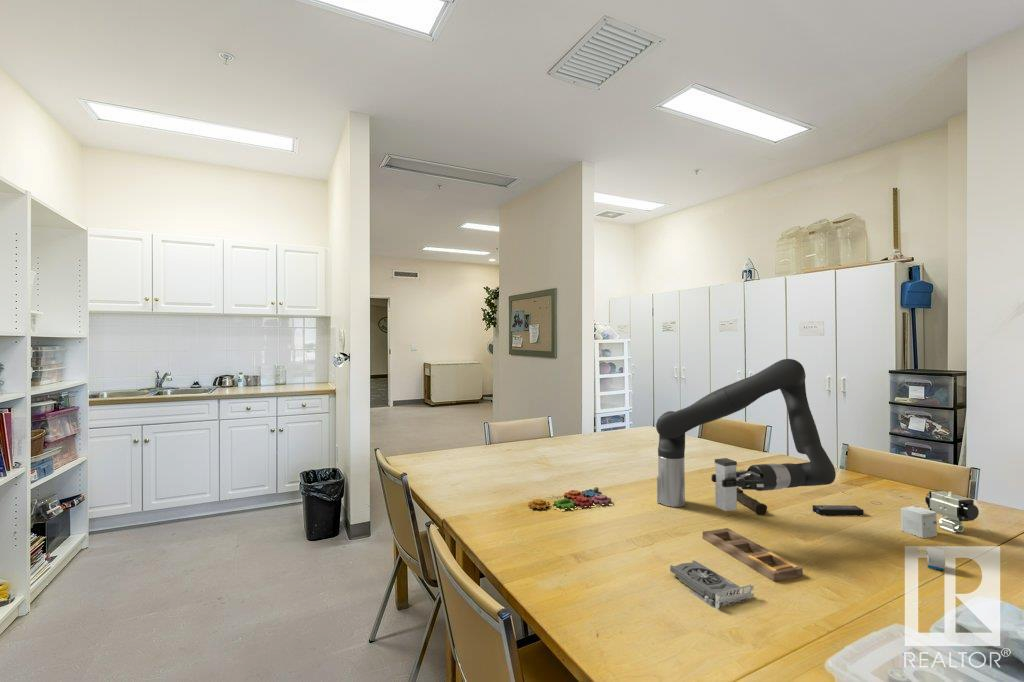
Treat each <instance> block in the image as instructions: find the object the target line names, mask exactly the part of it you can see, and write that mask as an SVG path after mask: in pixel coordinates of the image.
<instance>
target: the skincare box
mask: <svg viewBox="0 0 1024 682" xmlns="http://www.w3.org/2000/svg"><path fill="white" fill-rule="evenodd" d="M900 520H901V521H900V525H901V526H900V530H901V532H903V531H904V532H903V533H906V532H907V533H906V534H908V533H909V535H911V534H913V535H912V536H914V535H916V536H915V537H917V536H918V537H917V538H920V537H921V538H920V539H926V538H927V537H929V538H934V536H936V537H937V535H938V533H937V530H938V529H937V525H938V521H937V513H936V512H934V511H931V510H930V509H928V508H927V509H926V508H923V507H920V506H916V505H911V506H905V507H901V509H900ZM927 539H928V538H927Z"/></svg>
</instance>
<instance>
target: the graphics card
mask: <svg viewBox="0 0 1024 682" xmlns="http://www.w3.org/2000/svg"><path fill="white" fill-rule="evenodd" d="M669 568H670V570H669V571H670V573H672V574H674V575H675V577H676V578H678V580H679V582H681V583H683V584H684V585H686V586H687V587H688V588H690V589H692V590H693V591H692V590H689V589H688V590H689V591H688V592H689V593H691V594H693V595H694V596H696V597H697V598H698V599H700V601H701V600H702V602H704V603H705V604H707V605H709V607H711V608H714V609H716V610H717V611H720V609H719V608H720V607H724V606H727V605H728V606H729V607H730V606H733V605H735V603H744V602H747V601H748V600H749V599H751V598H754V597H755V592H752V591H754V590H755V588H754V587H755V585H752V584H747V585H742V586H740V585H738V584H736V583H734V582H733V581H731V580H729V579H727V578H725V577H723V576H722V575H720V574H718V573H717V572H715V571H714V570H712V569H711V568H708V567H706V566H704V565H703V564H701V563H699V562H698V561H696V560H692V562H682V563H680V564H677V565H675V566H674V565H672V564H670V566H669Z"/></svg>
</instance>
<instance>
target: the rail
mask: <svg viewBox="0 0 1024 682" xmlns="http://www.w3.org/2000/svg"><path fill="white" fill-rule="evenodd" d="M726 538H727V539H728V538H729V539H728V541H726V540H725V539H726ZM702 539H703V540H704V541H706V542H708V543H710V544H711V545H713V546H715V547H716V548H718V549H720V550H721V551H723V552H725V553H726V554H727V555H730V556H731V557H732V558H734V559H736V560H737V561H739V562H741V563H742V564H744V565H746V566H747V567H749V568H751V569H753V570H754V571H755V572H758V573H759V574H760V575H762V576H764V577H766V578H767V579H769V580H770V581H772V582H779V581H784V580H790V579H795V578H801V577H803V576H804V574H803V570H804V569H803V567H801V566H799V565H798V564H796V563H794V562H792V561H790V560H788V559H786V558H784V557H782V556H781V555H779V554H778V553H775V552H774V551H771V550H769V549H768V548H766V547H764V546H762V545H760V544H758V543H756V542H754V541H753V540H751V539H749V538H747V537H745V536H743V535H742V534H739V533H737V532H736V531H734V530H732V529H730V528H728V527H726V528H720V529H719V528H718V529H712V530H706V531H704V530H703V531H702ZM745 551H750V552H751V553H747V552H745ZM770 564H773V565H774V566H773V567H772V566H771V565H770Z"/></svg>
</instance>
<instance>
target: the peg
mask: <svg viewBox="0 0 1024 682" xmlns="http://www.w3.org/2000/svg"><path fill="white" fill-rule="evenodd" d="M737 465H738V462H737V461H735V460H734V459H730V458H727V457H724V458H723V457H722V458H714V471H715V472H714V474H715V482H714V485H715V488H714V491H715V494H714V495H715V507H716V508H718V509H720V510H722V511H724V512H729V511H730V512H731V511H736V510H738V504H737V503H738V502H737V487H723V486H722V479H730V478H734V479H735V478H736V471H737Z"/></svg>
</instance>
